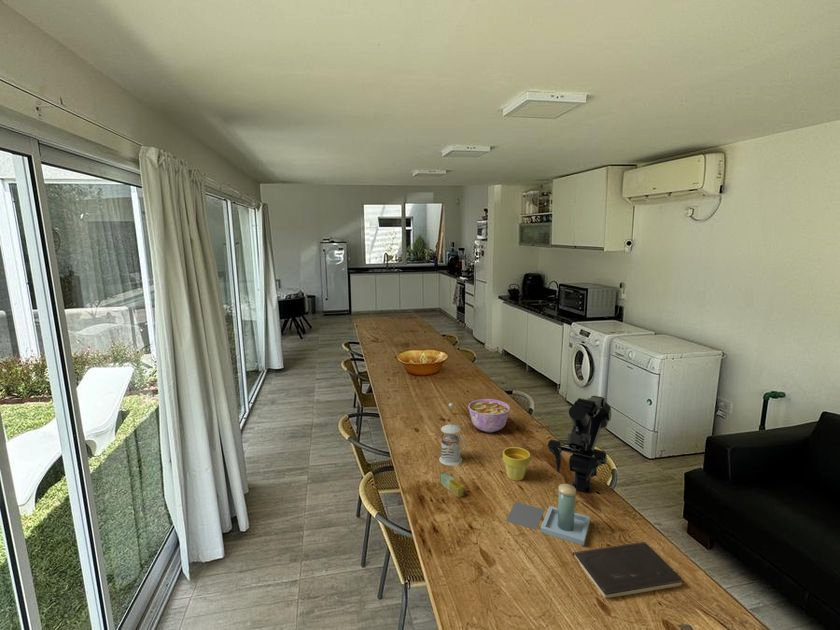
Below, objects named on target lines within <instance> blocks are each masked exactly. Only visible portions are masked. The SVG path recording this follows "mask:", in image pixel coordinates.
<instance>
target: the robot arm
mask: <svg viewBox="0 0 840 630" xmlns="http://www.w3.org/2000/svg"><path fill="white" fill-rule="evenodd" d="M606 401H607V400H606V398H605V397H604V396H598V395H591V397H589V398H587V399H586V398H581V397H579V398H577V400H575V402H574V403H573V404H572V406H571V407H569V409H568V415H569V417H570V421H571V422H572V428H571V429H572V430H571V433H569V432H568V435H567V445H564V444H562V441H561V440H555V439H549V440H548V443H547V448H548V451H549V452H551V454H552V455H553V456H554V457H555V463H556V472H557V474H558V473H559V474H560V471H561V464H562V463H561V462H562V457H563V456H562V452H566V453H570V454H571V455H570V456H569V463H568V465H569V471H570V472H574V477H573V478H574V479H573V482H572V484H571V485H572V486H574V487H575V488H576V491H580V492H584V493H588V494H590V493H591V490H592V487H593V483H592V481H591V479H592V478H594V477H596V476H598V475H597V474H598V470H597V468H598V467H602V466H603V465H607V460H608V456H607V452H606V451H605V450H600V449H597V448H596V445H597V441H598V439H599V436H600V434H601V430H602V429H603V428H605V427H607V426H608V423H609V422H611V419H612V408H611V406H610V405H609V404H608V403H607V402H606Z"/></svg>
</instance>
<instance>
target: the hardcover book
mask: <svg viewBox="0 0 840 630" xmlns="http://www.w3.org/2000/svg"><path fill="white" fill-rule="evenodd" d="M572 556H574V558H575V559H576V560H577V562H578V564H579V566H581V568H582V570H583V571H584V573H586V575H587V576H588V577H589V579H590V580H591V582H592V583H593V584H594V586H595V587H596V589H597V590H598V591H599V593H600V594H601V595H602V597H603V598H604V599H610V598H616V597H622V596H628V595H633V594H639V593H646V592H651V591H652V592H653V591H657V590H662V589H663V590H665V589H670V588H675V587H681V586H682V584H683V583H684V582H685V581H684V580H683V579H682V577H681V576H679V574H678V573H676V572H675V571H674V569H673V568H671V567H670V566H669V565H668V564H667V562H665V560H663V559H662V558H661V557H660V556H659V555H658V554H657V552H656V551H655V550H653V549H652V547H651V546H649V545H648V544H647V543H646V542H645V541H640V542H634V543H627V544H621V545H615V546H614V545H613V546H608V547H601V548H594V549H585V550H578V551H573V552H572Z"/></svg>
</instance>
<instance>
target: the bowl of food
mask: <svg viewBox="0 0 840 630" xmlns="http://www.w3.org/2000/svg"><path fill="white" fill-rule="evenodd" d="M468 411H469V417H470V419H471V423H472V424H473V426H474V427H475V428H476V429H478V430H480V431H482V432H485V433H495V432H497V431H500V430H501V429H503V428H505V425H506V423H507V421H508V417H509V413H510V411H511V407H510V405H509V404H508V403H506V402H504V401H502V400H498V399H492V398H490V399H489V398H482V399H475V400H473V401H471V402H469V404H468Z"/></svg>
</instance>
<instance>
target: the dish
mask: <svg viewBox="0 0 840 630" xmlns="http://www.w3.org/2000/svg"><path fill="white" fill-rule="evenodd" d="M590 523H591V516H588V515H585V514H581V513H579V512H578V513H577V512H575V514H574V529H573V530H571V531H564V530H562V529H560V528H559V527H558V525H557V524H558V507H556V506H552V505H549V506H548V509H547V511H546V514H545V516H544V519H543V521H542V523H541V526H540V531H539V532H540V533H541V534H544V535H547V536H551V537H553V538H557V539H561V540H564V541H568V542H570V543H573V544H576V545H580V546H581V547H583V548H584V547H585V544H586V539H587V535H588V533H589V527H590Z"/></svg>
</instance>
